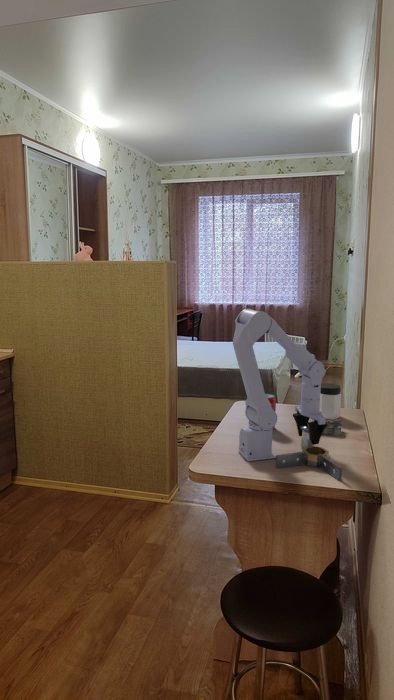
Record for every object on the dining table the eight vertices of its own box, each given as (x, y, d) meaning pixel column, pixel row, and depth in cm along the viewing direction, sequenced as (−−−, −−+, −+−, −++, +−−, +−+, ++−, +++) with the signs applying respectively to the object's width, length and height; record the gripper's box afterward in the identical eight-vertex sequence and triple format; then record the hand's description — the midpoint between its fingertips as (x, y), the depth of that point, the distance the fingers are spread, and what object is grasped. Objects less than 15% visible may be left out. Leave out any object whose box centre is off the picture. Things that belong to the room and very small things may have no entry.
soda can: (276, 431, 172) (277, 397, 170) (257, 431, 173) (258, 397, 171) (273, 425, 179) (275, 393, 177) (256, 425, 179) (257, 392, 177)
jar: (343, 419, 187) (345, 388, 185) (323, 420, 185) (325, 389, 183) (331, 412, 196) (333, 382, 194) (312, 413, 194) (314, 383, 192)
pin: (304, 452, 153) (306, 430, 152) (296, 446, 158) (297, 425, 157) (319, 450, 155) (320, 428, 154) (310, 445, 160) (311, 423, 158)
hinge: (298, 486, 130) (299, 473, 130) (270, 462, 145) (271, 451, 145) (351, 478, 135) (352, 466, 135) (318, 456, 150) (319, 445, 150)
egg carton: (342, 430, 175) (343, 419, 175) (340, 437, 168) (341, 425, 168) (311, 426, 179) (312, 415, 178) (308, 433, 172) (309, 421, 171)
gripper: (335, 402, 148) (332, 446, 151) (309, 390, 162) (307, 431, 164) (314, 404, 146) (312, 448, 148) (290, 392, 160) (288, 433, 162)
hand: (308, 439), depth 156 cm, fingers open, 7 cm apart
